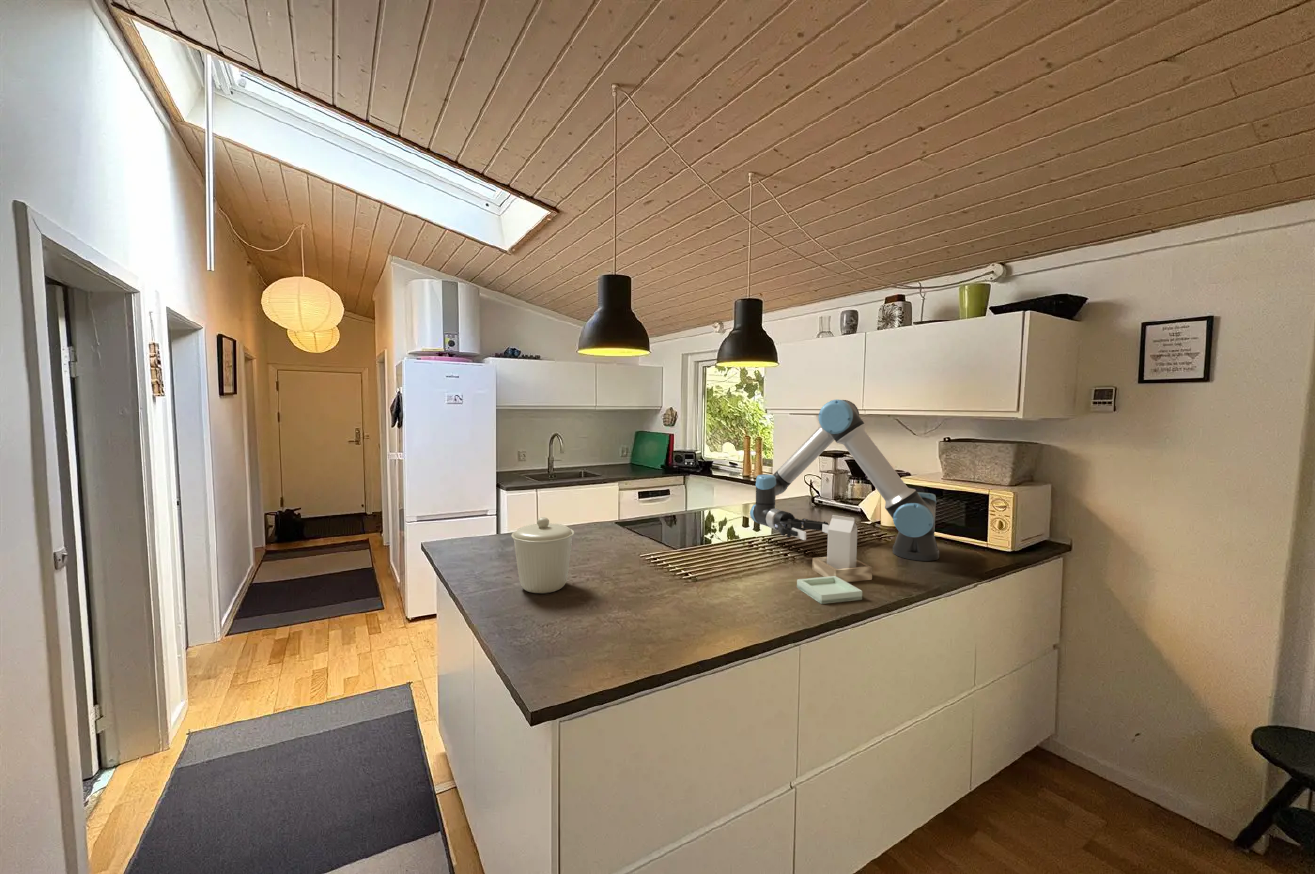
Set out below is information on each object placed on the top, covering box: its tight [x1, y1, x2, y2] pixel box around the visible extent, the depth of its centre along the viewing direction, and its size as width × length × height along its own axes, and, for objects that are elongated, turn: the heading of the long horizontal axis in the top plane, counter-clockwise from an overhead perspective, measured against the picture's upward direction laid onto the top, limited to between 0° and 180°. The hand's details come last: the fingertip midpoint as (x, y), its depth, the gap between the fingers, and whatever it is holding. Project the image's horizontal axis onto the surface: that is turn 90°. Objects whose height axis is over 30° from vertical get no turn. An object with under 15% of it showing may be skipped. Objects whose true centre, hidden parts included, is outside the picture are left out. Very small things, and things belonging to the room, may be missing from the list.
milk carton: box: [826, 514, 858, 569], centre depth 169 cm, size 7×7×19 cm
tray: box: [796, 576, 863, 605], centre depth 153 cm, size 13×13×2 cm
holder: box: [811, 556, 873, 583], centre depth 170 cm, size 13×13×4 cm
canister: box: [511, 517, 575, 594], centre depth 156 cm, size 18×18×21 cm
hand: (821, 534), depth 177 cm, fingers open, 13 cm apart
